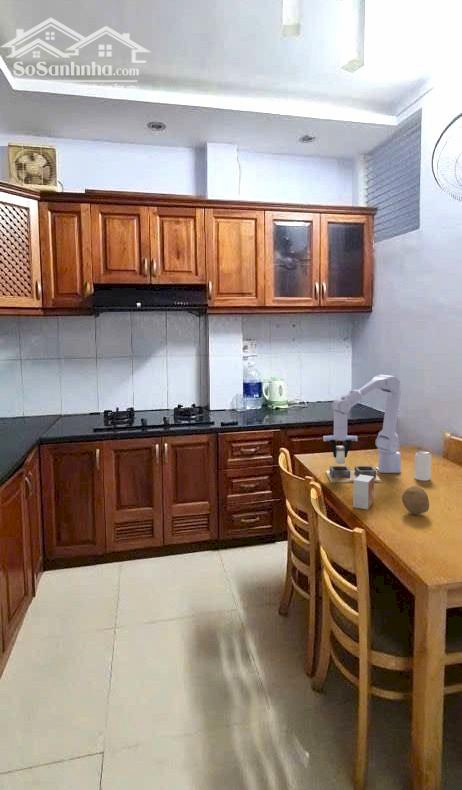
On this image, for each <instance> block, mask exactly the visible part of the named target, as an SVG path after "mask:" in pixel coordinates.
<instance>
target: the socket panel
mask: <svg viewBox="0 0 462 790" xmlns="http://www.w3.org/2000/svg"><path fill="white" fill-rule="evenodd" d="M376 470H377V469H376V468H374V466H372V465H354V470H351V469H350V468H349V467H348V465H329V469H328V470H326V469H325V473H326V475H327V477H328V479H329V482H330V483H354V479H356V478H357V477H358V476H359V475H360V474H361V475H368V476H374V483H381V482H382V479H380V477H379V476H378V475H377V471H376Z"/></svg>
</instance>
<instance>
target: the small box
mask: <svg viewBox="0 0 462 790" xmlns="http://www.w3.org/2000/svg"><path fill="white" fill-rule="evenodd" d="M352 492H353V496H352V498H353V499H352V503H353V504H352V507H353V508H356V509H362V510H369V509H370V508H371V506H372V505H374V504H375V503H374V497H375V496H374V495H375V482H374V476H368V475H361V474H360V475H359V476H358V477H357V478H356V479H354V482H353V491H352Z"/></svg>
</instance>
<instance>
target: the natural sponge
mask: <svg viewBox="0 0 462 790" xmlns="http://www.w3.org/2000/svg"><path fill="white" fill-rule="evenodd" d="M401 501H402V502H401V503H402V504H403V506H404V507H405V509H406V510H407V511H408V513H410V514H411V515H414V516H418V515H421V514H423V513H427V512H428V511H429V509H430V500H429V496H428V494H427V491H425V490H424V489H423V488H421V487H419V486H417V485H416V486H410V487H408V488H407V489H405V490H404V492H403V493H402V495H401Z"/></svg>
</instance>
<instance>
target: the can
mask: <svg viewBox="0 0 462 790" xmlns="http://www.w3.org/2000/svg"><path fill="white" fill-rule="evenodd" d="M413 475H414V479H415V480H417V481H420V482H427V481H430V480H431V475H432V454H431V451H429V450H426V449H425V450H423V449H421V450H420V449H419V450H416V453H415V454H414V474H413Z"/></svg>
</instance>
